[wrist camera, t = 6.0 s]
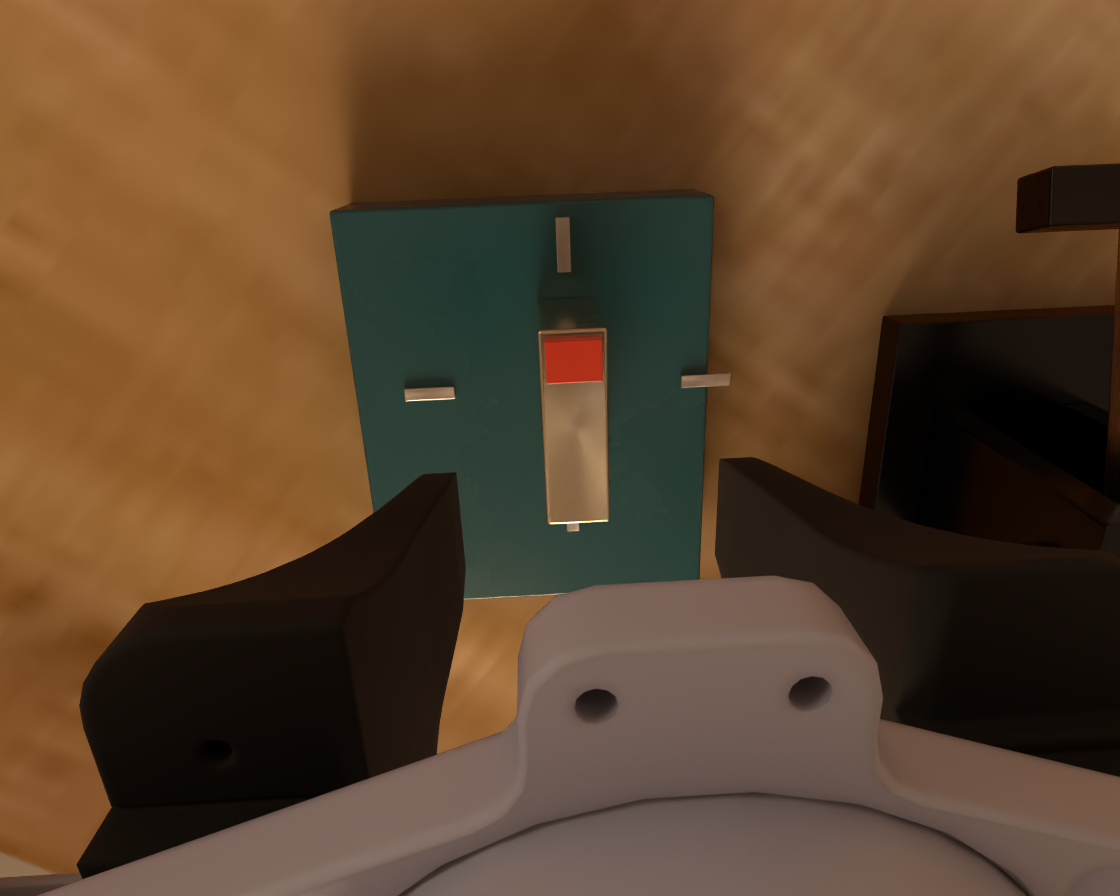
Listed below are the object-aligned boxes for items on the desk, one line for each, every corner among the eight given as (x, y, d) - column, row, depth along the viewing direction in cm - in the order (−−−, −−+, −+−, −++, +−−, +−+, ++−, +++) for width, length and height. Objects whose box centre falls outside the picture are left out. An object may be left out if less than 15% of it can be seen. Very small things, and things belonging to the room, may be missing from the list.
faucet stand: (882, 315, 24) (1069, 408, 15) (1132, 304, 24) (1449, 390, 16) (847, 588, 27) (983, 778, 19) (1063, 576, 28) (1288, 759, 19)
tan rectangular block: (597, 465, 22) (611, 527, 19) (543, 468, 22) (547, 530, 19) (594, 296, 20) (608, 329, 17) (535, 299, 20) (537, 333, 17)
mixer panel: (701, 547, 26) (719, 590, 24) (398, 564, 26) (385, 608, 24) (716, 187, 22) (739, 194, 19) (349, 202, 22) (326, 211, 19)
